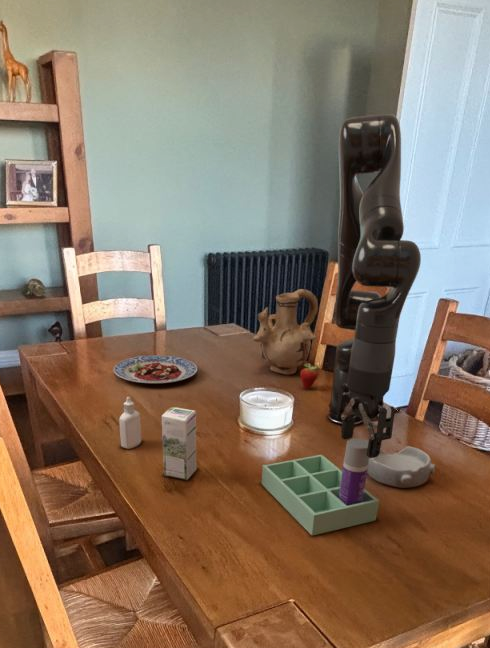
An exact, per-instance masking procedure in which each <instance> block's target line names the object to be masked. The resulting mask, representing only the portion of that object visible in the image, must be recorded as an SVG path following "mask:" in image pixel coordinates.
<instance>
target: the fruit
mask: <svg viewBox="0 0 490 648" xmlns="http://www.w3.org/2000/svg"><path fill="white" fill-rule="evenodd" d="M303 366H304V368H302V369H301V370H300V380H301V383H302V386H303V388H304V389H306V390H309V389H310V388H311V387H313V385H314V384H315V382H316V381H317V379H318V376H319V373H318V371H317V369H318V365H314V366H313V365H311V363H310V362H309V363H304V364H303Z"/></svg>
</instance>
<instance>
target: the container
mask: <svg viewBox="0 0 490 648" xmlns="http://www.w3.org/2000/svg"><path fill="white" fill-rule="evenodd" d="M368 443H369V440H366V439H364V438H357V437H356V438H351V439H347V441H346V446H345V451H344V457H343V464H342V470H341V471H342V478H341V486H340V493H339V499H340V500H341V501H342V502H343V503H344V504H345V505H347V506H349V505H353V504H358V503H362V501H363V495H364V489H365V487H366V482H367V477H368V476H367V475H368V473H367V470H368V462H369V457H367V449H368ZM365 490H366V489H365Z"/></svg>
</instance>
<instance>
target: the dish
mask: <svg viewBox="0 0 490 648" xmlns="http://www.w3.org/2000/svg"><path fill="white" fill-rule="evenodd" d="M435 472H436V464H435V463H432V459H431V457H430V455H429V454H428V453H427V452H425V451H424V450H421V449H420V448H418V447H413V446H410V445H407V446H405V447H404V448H402V449H401V450H400V451H399V452H396V453H386V452H384V451H383V450H382V449H381V448H380V454H379V455H378V456H377V457H374V458H369V462H368V470H367V475H368V476H369V477H371V479H373V480H375V481H377V482H379V483H381V484H384V485H387V486H390V487H395V488H403V489H404V488H405V489H406V488H408V489H409V488H414V487H419V486H421V485H423V484H424V483H426V482H427V481H428V480H429V478H430V475H434V474H435Z"/></svg>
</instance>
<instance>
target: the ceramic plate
mask: <svg viewBox="0 0 490 648" xmlns="http://www.w3.org/2000/svg"><path fill="white" fill-rule="evenodd" d="M197 372H198V366H197V365H196V364H195V363H194V362H192V361H191V360H188V359H187V358H182V357H178V356H170V355H160V354H159V355H157V354H156V355H141V356H135V357H130V358H127V359H124V360H121V361H119V362H118V363H116V364H115V365H114V366H113V373H114V374H115V375H116V377H119V378H120V379H123V380H125V381H129V382H134V383H140V384H150V385H159V384H160V385H161V384H169V383H175V382H180V381H181V382H182V381H184V380H187V379H189V378H191V377H193V376H195V374H197Z"/></svg>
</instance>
